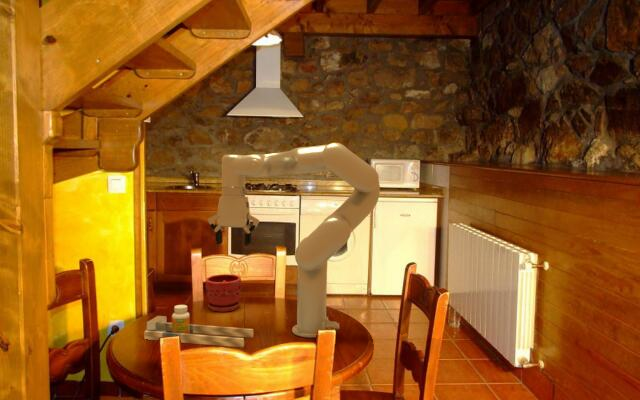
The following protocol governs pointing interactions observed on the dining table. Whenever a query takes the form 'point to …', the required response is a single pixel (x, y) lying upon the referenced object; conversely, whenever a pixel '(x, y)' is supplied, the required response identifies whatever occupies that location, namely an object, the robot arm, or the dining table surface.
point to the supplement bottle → (181, 320)
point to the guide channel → (160, 327)
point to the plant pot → (223, 292)
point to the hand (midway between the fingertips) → (233, 244)
